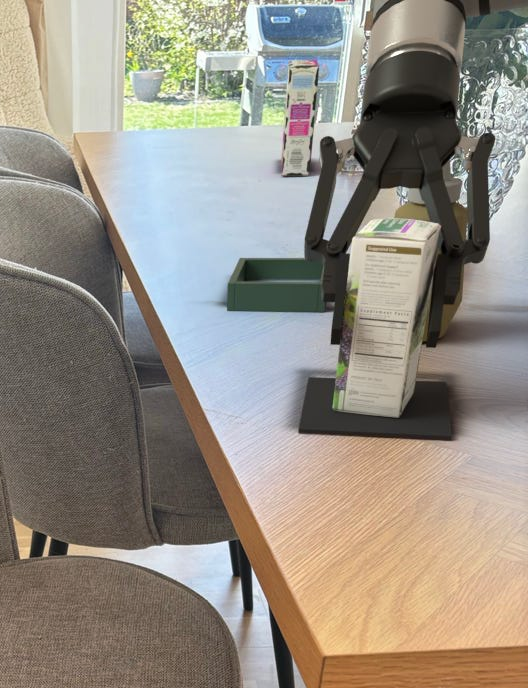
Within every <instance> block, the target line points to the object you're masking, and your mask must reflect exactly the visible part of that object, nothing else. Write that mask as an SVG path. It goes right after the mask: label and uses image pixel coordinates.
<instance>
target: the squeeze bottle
mask: <svg viewBox="0 0 528 688" xmlns="http://www.w3.org/2000/svg"><path fill="white" fill-rule="evenodd" d="M442 169H443V179H444V182H445V185H446V188H447V192H448V195H449V198H450V201H451V204H452V207H453V211H454V214H455V217H456V220H457V223H458V226H459V230H460V233H461V236H462V239H463V241H464V240H467V234H468V225H467V207H465V206H464V205H463V204H461V203H459V202H458V201H459V200H460V198H461V193H462V192H461V191H462V186H463V182H462V180H461V179H459V178H457V177H452V170H451V169H452V168H451V159H450V160H449V161H448V162H447V163H446V164H445V165H444V166H443V168H442ZM406 198H407V201H408V202H406V203H404V204H402V205H401V206H399V207H398V208H397V209H396V210H395V212H394V217H393V218H400V219H413V220H421V221H427V222H430V219H429V216H428V212H427V209H426V206H425V203H424V201H422V199H421V196H420V193H419V189H418V188H412V189H410V188H408V189H407V197H406ZM438 254H440V251H439V248H438V247H437V254H436V260H435V265H436V261H437V257H438ZM434 269H435V266H434ZM464 275H465V265H463V266H462V272H461V282H460V291H459V294H458V297H457V300H456V302H455V303H454V305H443V312H442V322H441V332H440V335H439V339H441V338H442V337H444V336H445V334H446V333H447V331H448V329H449V326H450V325H451V323H452V321H453V319H454V317H455V315H456V313H457V311H458V309H459V307H460V306H461V304H462V302H463V290H464ZM432 283H433V279H432ZM431 293H432V286H431V292H430V298H429V304H428V310H427V316H426V322H425V328H424V334H423V340H422V343H423V342H427V332H428V322H429V312H430V302H431Z"/></svg>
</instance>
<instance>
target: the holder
mask: <svg viewBox="0 0 528 688" xmlns="http://www.w3.org/2000/svg"><path fill="white" fill-rule="evenodd" d="M323 272H324V266H323V264H322V263H320V262H318V261H313V262H309V261H307V260H306V259H305V257H239V258H238V262H237V263H236V265H235V267H234V269H233V271H232V274H231V276H230V278H229V280H228V282H227V293H226V296H227V297H226V311H230V312H233V311H235V312H241V311H242V312H286V313H287V312H288V313H290V312H293V313H296V312H297V313H298V312H300V313H325V312H326V306H327V302H323V300H322V297H321V291H322V281H323ZM245 280H277V281H245ZM278 280H279V281H278ZM280 280H281V281H280ZM282 280H284V281H282ZM286 280H291V281H286ZM292 280H295V281H292ZM298 280H299V281H298ZM311 280H313V281H314V282H313V281H311Z"/></svg>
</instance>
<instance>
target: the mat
mask: <svg viewBox="0 0 528 688" xmlns="http://www.w3.org/2000/svg"><path fill="white" fill-rule="evenodd" d="M335 382H336V377H318V376H309V377H308V378H307V384H306V387H305V388H306V389H305V394H304V399H303V404H302V409H301V413H300V414H301V415H300V420H299V424H298V431H297V432H298V434H311V435H312V434H313V435H330V436H331V435H332V436H349V437H350V436H352V437H353V436H354V437H371V438H372V437H373V438H394V439H411V440H412V439H413V440H415V439H416V440H433V441H434V440H435V441H452V439H453V433H452V432H453V431H452V423H451V411H450V404H449V403H450V402H449V395H448V394H449V393H448V383H447V381H439V380H438V381H437V380H436V381H435V380H416V383H415V389H414V393H413V395H412V397H411V399H410V400H409V402H408V404H407V405H406V407H405V409H404V411H403V412H402V414H401V416H400V417H399V418H395V417H386V416H375V415H366V414H357V413H349V412H341V411H335V410H334V409H333V408H332V407H333V399H334V391H335Z"/></svg>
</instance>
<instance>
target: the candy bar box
mask: <svg viewBox="0 0 528 688" xmlns="http://www.w3.org/2000/svg"><path fill="white" fill-rule="evenodd" d="M287 66H288V67H287V80H286V90H285V91H286V92H285V104H284V105H285V106H284V119H283V131H282V132H283V133H282V146H281V147H282V148H281V162H280V163H281V165H280V166H281V167H280V168H281V169H280V170H281V171H280V172H281V177H305V176H306V177H308V176H310V172H311V164H312V153H313V143H314V132H315V120H316V109H317V100H318V98H317V97H318V87H319V86H318V85H319V75H320V65H319V62H318V59H291V60H288V65H287Z"/></svg>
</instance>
